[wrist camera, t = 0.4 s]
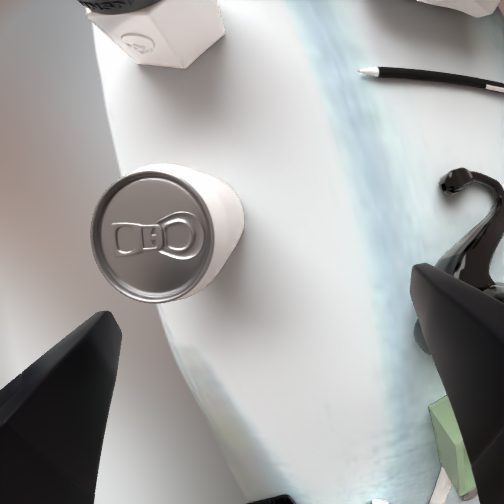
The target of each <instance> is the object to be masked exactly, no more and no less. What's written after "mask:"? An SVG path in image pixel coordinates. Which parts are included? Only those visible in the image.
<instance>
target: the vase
mask: <svg viewBox="0 0 504 504" xmlns="http://www.w3.org/2000/svg"><path fill="white" fill-rule="evenodd" d="M417 1H420V2H424V3H428V4H432V5H436V6H441V7H447V8H451V9H455V10H459V11H462V12H464V13H466V14H469V15H471V16H473V17H477V18H479V17H483V16H487V15H491V14H492V13H493V12H494V11H495V9H496V8H497V6H498V5H499V3H500V2H501V0H417Z"/></svg>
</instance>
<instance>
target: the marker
mask: <svg viewBox="0 0 504 504" xmlns="http://www.w3.org/2000/svg"><path fill="white" fill-rule="evenodd" d="M451 485H452V483H451V481H450V479H449V477H448V476H447V474H446V472H445V470H444V467H443V466H442V467H441V471H440V474H439V477H438V480H437V483H436V486H435V489H434V492H433V495H432V497H431V500H430V503H429V504H444V502H445V500H446V497H447V495H448V493H449V490H450V488H451Z"/></svg>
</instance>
